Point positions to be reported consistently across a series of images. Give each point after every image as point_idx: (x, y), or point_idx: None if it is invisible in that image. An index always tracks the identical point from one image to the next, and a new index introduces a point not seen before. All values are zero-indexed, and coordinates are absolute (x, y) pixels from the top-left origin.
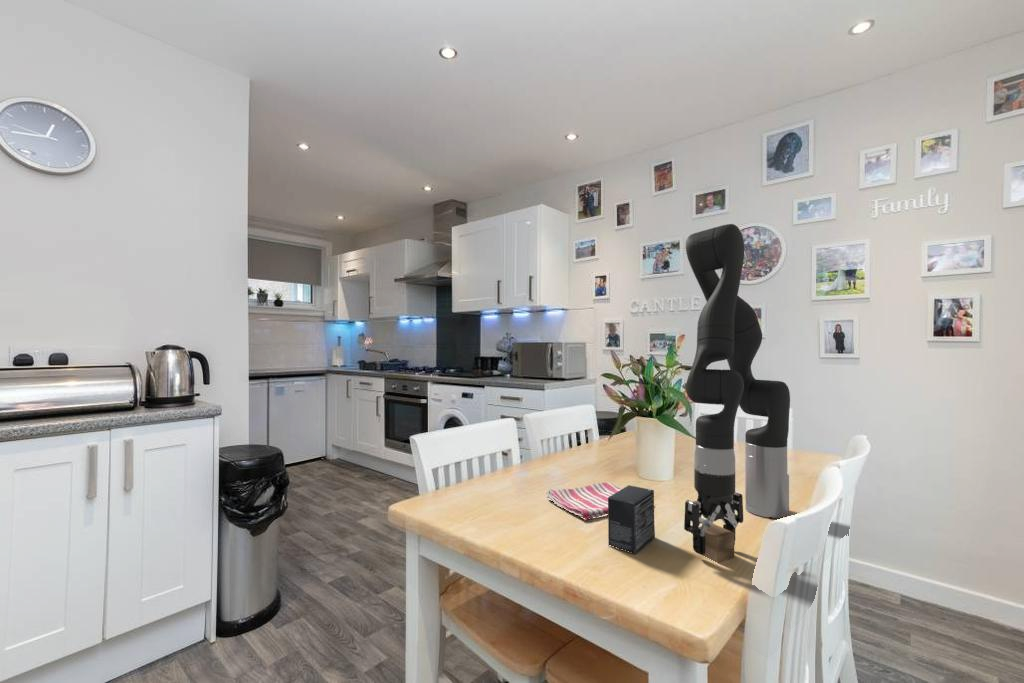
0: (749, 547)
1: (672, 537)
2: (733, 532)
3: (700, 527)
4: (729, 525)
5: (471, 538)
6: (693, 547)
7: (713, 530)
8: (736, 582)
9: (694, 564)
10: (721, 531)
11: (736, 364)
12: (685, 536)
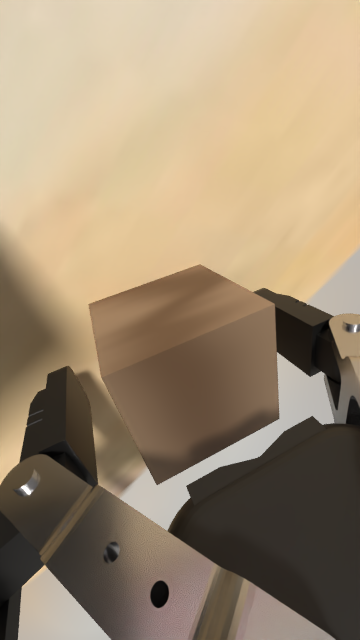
0: (317, 285)
1: (18, 63)
2: (278, 416)
3: (145, 366)
4: (322, 361)
5: None
6: (33, 405)
7: (200, 406)
8: (117, 485)
9: (21, 409)
10: (234, 411)
11: None
12: (132, 87)
